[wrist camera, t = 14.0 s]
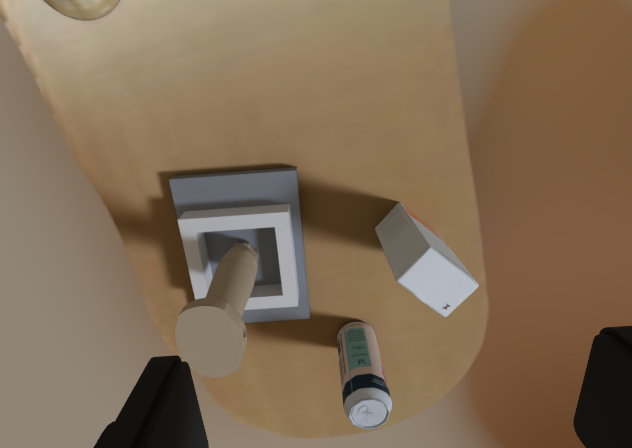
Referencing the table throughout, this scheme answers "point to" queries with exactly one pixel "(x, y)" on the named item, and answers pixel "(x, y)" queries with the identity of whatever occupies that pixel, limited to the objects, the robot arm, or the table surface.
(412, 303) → the table surface
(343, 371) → the beer can
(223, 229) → the socket board
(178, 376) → the robot arm
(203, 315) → the handle
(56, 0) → the hand bell
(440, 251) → the skincare box
